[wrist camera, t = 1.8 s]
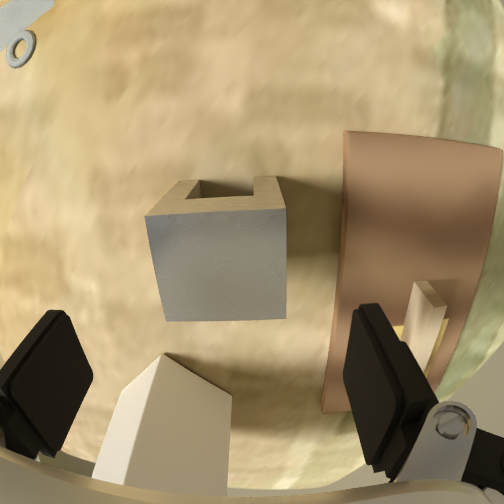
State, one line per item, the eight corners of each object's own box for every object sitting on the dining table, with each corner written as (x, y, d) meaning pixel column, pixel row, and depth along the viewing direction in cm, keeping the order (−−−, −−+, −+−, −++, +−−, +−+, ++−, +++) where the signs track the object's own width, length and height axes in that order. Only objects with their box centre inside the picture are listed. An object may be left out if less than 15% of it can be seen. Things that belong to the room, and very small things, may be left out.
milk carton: (185, 424, 27) (159, 604, 10) (122, 388, 25) (63, 578, 8) (233, 394, 25) (222, 617, 7) (162, 351, 23) (99, 598, 5)
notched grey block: (178, 181, 17) (144, 216, 12) (275, 175, 17) (286, 208, 12) (188, 261, 19) (166, 321, 14) (277, 258, 19) (286, 318, 14)
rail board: (343, 130, 16) (370, 138, 12) (491, 146, 16) (533, 160, 12) (320, 403, 25) (327, 442, 21) (429, 386, 25) (444, 418, 21)
